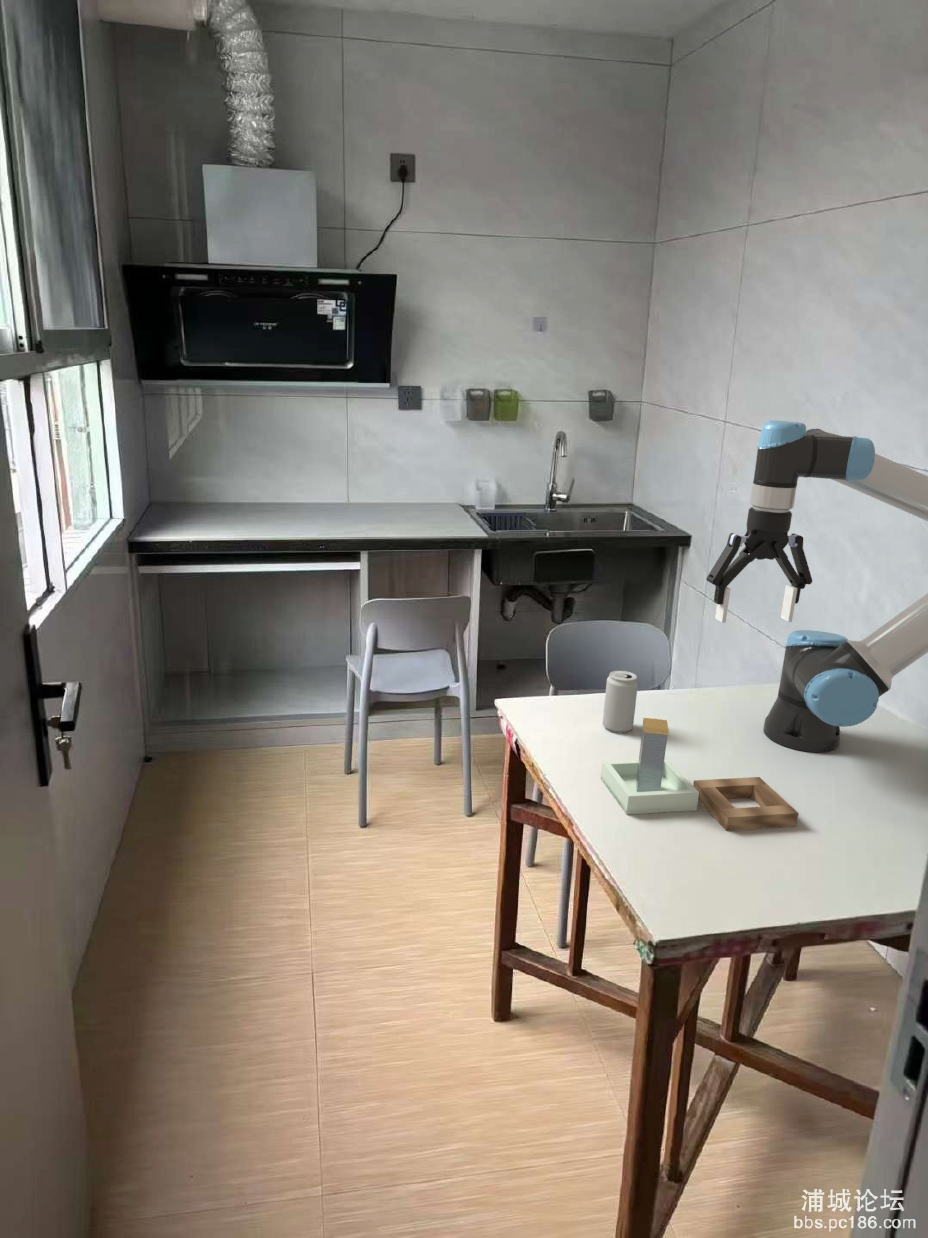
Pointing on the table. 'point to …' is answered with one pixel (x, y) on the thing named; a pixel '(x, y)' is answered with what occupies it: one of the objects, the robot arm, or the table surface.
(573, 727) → the table surface
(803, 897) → the table surface
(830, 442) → the robot arm
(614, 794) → the bin
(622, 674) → the beverage can
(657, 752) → the strut
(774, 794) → the socket block
